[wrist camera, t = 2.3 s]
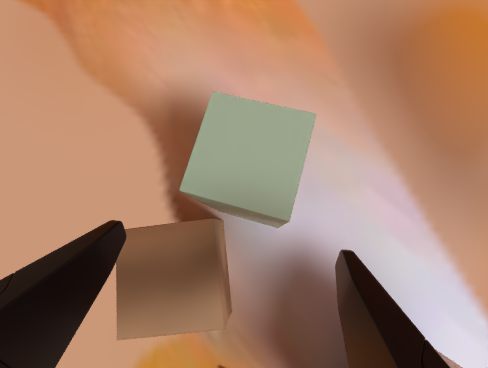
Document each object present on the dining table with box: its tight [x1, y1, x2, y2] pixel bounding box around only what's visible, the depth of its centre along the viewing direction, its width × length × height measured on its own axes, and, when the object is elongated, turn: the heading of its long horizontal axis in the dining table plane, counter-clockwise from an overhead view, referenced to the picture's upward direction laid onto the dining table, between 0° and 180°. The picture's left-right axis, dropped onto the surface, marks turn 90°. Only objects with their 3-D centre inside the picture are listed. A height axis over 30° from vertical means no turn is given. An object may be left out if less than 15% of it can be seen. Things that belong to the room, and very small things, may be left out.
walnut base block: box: [116, 218, 232, 340], centre depth 18 cm, size 7×7×4 cm
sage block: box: [179, 92, 316, 228], centre depth 16 cm, size 5×5×10 cm
